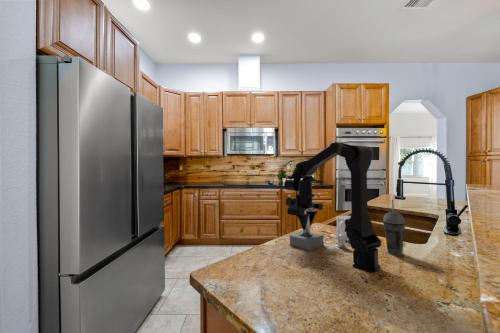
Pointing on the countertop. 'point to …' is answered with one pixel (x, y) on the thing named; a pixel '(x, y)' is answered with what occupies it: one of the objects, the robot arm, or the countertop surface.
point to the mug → (342, 225)
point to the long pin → (307, 229)
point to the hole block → (306, 240)
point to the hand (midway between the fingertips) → (306, 228)
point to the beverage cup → (394, 231)
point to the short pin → (341, 241)
